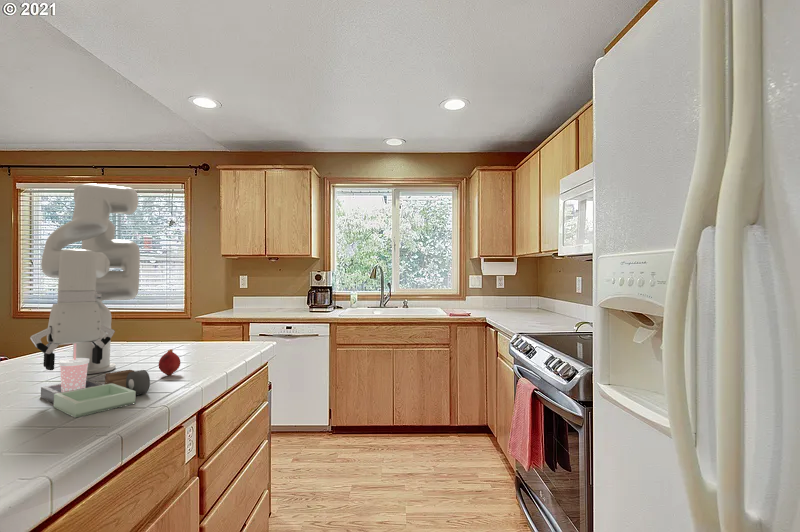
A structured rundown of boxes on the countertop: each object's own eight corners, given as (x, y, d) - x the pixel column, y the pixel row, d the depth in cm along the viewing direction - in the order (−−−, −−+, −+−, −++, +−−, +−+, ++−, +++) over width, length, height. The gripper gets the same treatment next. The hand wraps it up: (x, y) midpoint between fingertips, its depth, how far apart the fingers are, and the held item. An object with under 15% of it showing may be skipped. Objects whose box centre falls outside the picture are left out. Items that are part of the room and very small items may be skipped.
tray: (53, 407, 95) (54, 394, 95) (112, 394, 105) (112, 383, 106) (75, 417, 89) (75, 403, 89) (135, 403, 99) (135, 391, 99)
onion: (170, 378, 123) (171, 351, 123) (153, 377, 124) (154, 350, 124) (184, 374, 128) (184, 348, 128) (168, 372, 129) (168, 347, 130)
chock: (104, 390, 110) (105, 373, 110) (129, 385, 115) (129, 369, 115) (113, 393, 107) (114, 376, 107) (138, 388, 112) (138, 372, 112)
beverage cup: (85, 398, 103) (87, 341, 103) (54, 400, 100) (56, 342, 100) (90, 391, 108) (92, 338, 108) (61, 394, 105) (63, 339, 106)
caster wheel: (124, 393, 107) (125, 370, 107) (138, 390, 109) (139, 368, 110) (136, 398, 103) (137, 374, 103) (150, 394, 106) (151, 371, 106)
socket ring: (40, 397, 102) (41, 387, 102) (87, 388, 111) (88, 378, 111) (56, 404, 97) (56, 394, 97) (104, 394, 105) (105, 385, 105)
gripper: (108, 297, 114) (106, 359, 113) (27, 298, 99) (23, 370, 98) (121, 297, 110) (119, 362, 109) (38, 299, 95) (35, 374, 94)
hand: (73, 366), depth 103 cm, fingers open, 9 cm apart
